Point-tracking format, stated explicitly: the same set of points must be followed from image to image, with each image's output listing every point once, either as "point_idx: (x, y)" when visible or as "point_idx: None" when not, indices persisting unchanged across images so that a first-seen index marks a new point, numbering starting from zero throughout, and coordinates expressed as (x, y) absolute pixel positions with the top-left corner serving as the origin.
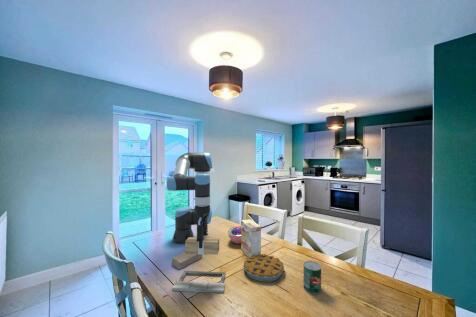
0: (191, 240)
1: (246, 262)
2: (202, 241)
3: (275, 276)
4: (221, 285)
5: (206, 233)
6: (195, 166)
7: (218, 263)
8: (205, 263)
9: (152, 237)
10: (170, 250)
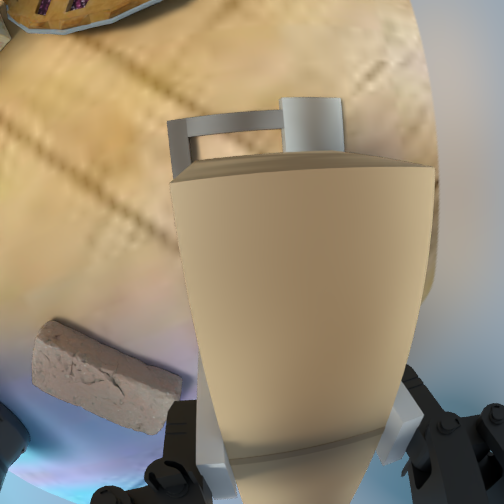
0: (329, 497)
1: (86, 8)
2: (415, 420)
3: None
4: (303, 115)
5: (184, 499)
6: None
7: (65, 207)
8: (88, 282)
9: (53, 484)
10: (76, 440)
